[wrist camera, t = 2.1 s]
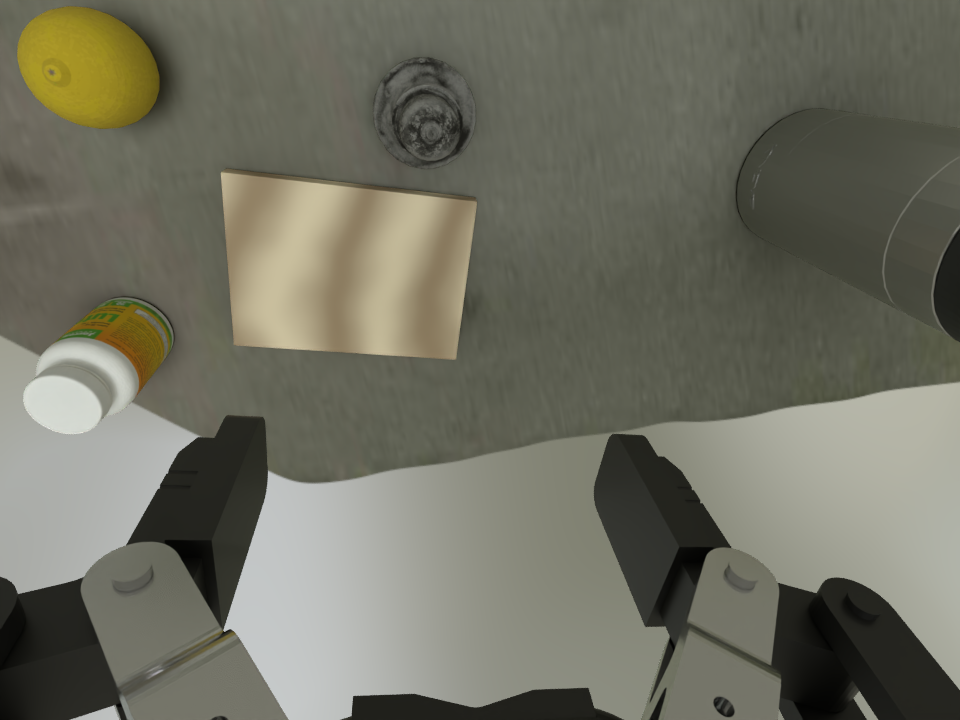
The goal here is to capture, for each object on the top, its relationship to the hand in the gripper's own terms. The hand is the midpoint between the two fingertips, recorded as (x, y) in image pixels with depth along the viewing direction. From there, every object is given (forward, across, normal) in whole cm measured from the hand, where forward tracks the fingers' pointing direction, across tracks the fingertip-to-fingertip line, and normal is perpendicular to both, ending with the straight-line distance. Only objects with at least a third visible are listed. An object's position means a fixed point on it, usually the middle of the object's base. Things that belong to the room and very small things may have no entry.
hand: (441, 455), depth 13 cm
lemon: (+28, +17, -5) cm, 33 cm away
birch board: (+28, +4, +6) cm, 29 cm away
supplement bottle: (+28, +19, +12) cm, 36 cm away
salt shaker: (+28, 0, -5) cm, 29 cm away
